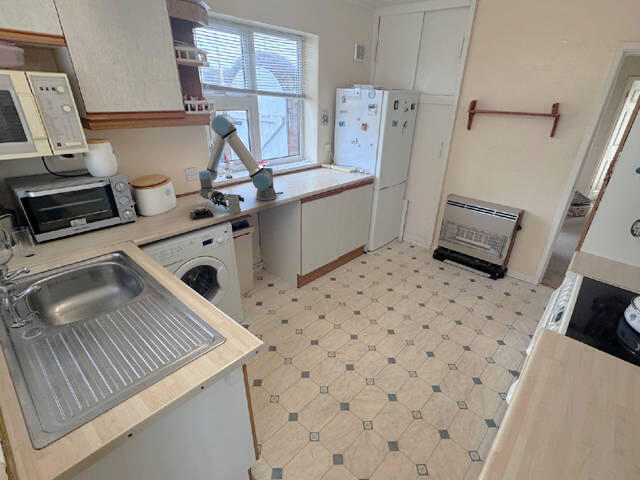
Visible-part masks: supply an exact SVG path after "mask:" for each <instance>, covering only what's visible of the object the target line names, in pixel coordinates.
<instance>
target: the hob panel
mask: <svg viewBox="0 0 640 480" xmlns="http://www.w3.org/2000/svg"><path fill="white" fill-rule="evenodd" d="M189 216H190V217H191V219H192V220H193V221H195V220H203V219H209V218H214V213H213V212H212V211H211V209H209V208H208V209H207V208H205V207H204V211H197V208H196V209H194V211H189Z"/></svg>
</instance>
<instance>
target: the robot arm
mask: <svg viewBox="0 0 640 480" xmlns="http://www.w3.org/2000/svg"><path fill="white" fill-rule="evenodd" d="M211 128H212V130H213V132H214V133H215V134H216V137H215V141H214V144H213V148H212V150H211V154H210V157H209V161H208V164H207V167H206V170H200V171H198V178H199V183H200V189H199V190H198V193H199V196H200V197H201V198H202V199H204V200H209V201H211V202H212V203H213V205H214V206H218V207H219V206H223V207H224V206H225V207H227V205H228V202H227V201H228V199H227V200H226V202H224V201H223V200H224V193H223V192H222V191H218V190H215V189H214V186H213V182H214V181H216V180H217V178H218V173H219V168H220V167H221V163H222V159H223V157H224V154H225V151H226V148H227V145H229V147H230V148H231V150H232V151H233V152H234V153H235V155H236V157H237V158H238V159H239V161H240V162H241V163H242V165H243V166H244V168H245V169H246V170H247V172H248V177H249V178H250V179H251V181H252V184H253V186H254V188H255V189H257V190H256V194H255V199H256V200H258V201H272V200H276V199H277V197H278V196H277V195H279V194H283V193H284V192H283V191H279V192H276V190H275V187H274V174H273V173H274V172H273V168H272V167H271V166H263V165H260V164H259V162H258V161H257V159H256V158H255V156H254V155H253V154H252V152H251V151H250V149H249V148H248V147H247V145H246V144H245V143H244V141H243V140H242V138H241V137H240V135H239V133H238V132H239V130H238V129H237V127H236V123H235V120H234V118H233V117H232V116H231V115H229V114H227V113H223V114H217V115H216V116H214V117H213V118H212V120H211ZM226 195H227V197H230V196H237V197H238V198H239V202H242V203H245V197H242V196H241V194H231V193H226ZM225 207H224V208H225Z"/></svg>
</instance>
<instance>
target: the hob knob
mask: <svg viewBox="0 0 640 480" xmlns="http://www.w3.org/2000/svg"><path fill="white" fill-rule="evenodd" d="M204 208H205V207H204V206H197V207H196V209H197V211H204Z"/></svg>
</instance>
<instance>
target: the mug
mask: <svg viewBox="0 0 640 480" xmlns="http://www.w3.org/2000/svg"><path fill="white" fill-rule="evenodd" d="M223 195H224V200H223V201H224V202H226V203H227V207H225V206H223V207H224V209H225V210H228V212H229V213H230V214H240V213H241V212H242V211H241V210H242V208H241V205H240V203H241V201H239V198H238V197H237V196H230V197H227V193H225V192H224V193H223ZM227 199H228V200H227Z"/></svg>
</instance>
